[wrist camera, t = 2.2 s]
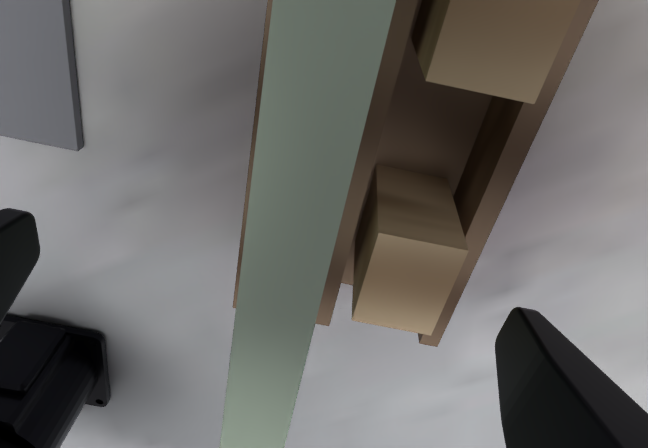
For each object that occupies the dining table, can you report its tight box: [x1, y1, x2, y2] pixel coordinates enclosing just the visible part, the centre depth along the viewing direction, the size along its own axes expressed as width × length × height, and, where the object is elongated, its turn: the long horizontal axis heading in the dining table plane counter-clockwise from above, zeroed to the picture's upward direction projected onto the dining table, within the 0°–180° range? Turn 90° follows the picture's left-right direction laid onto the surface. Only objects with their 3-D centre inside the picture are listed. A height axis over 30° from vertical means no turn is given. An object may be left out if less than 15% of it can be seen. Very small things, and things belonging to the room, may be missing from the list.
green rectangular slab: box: [219, 0, 396, 448], centre depth 14 cm, size 14×2×11 cm, turn 169°
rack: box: [233, 0, 599, 347], centre depth 17 cm, size 18×9×4 cm, turn 169°
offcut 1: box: [352, 164, 469, 336], centre depth 19 cm, size 4×3×5 cm
